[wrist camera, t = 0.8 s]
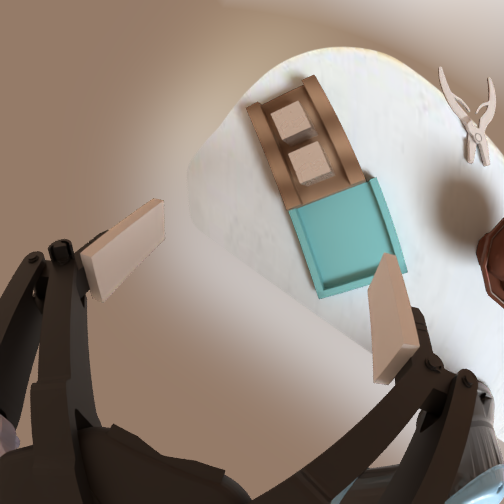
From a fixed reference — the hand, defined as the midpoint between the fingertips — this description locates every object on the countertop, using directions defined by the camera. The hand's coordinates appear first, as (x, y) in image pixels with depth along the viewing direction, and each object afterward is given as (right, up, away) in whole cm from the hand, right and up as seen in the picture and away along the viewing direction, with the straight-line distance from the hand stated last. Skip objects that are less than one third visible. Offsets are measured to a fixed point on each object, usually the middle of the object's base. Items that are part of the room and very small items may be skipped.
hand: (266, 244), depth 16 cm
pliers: (+31, +19, +11) cm, 38 cm away
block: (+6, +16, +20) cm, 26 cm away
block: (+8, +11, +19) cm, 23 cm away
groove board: (+8, +15, +22) cm, 28 cm away
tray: (+13, +1, +22) cm, 25 cm away
